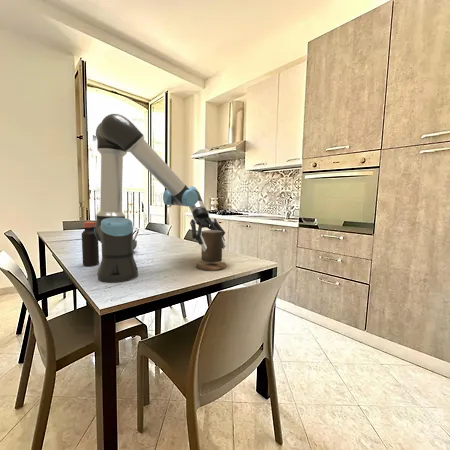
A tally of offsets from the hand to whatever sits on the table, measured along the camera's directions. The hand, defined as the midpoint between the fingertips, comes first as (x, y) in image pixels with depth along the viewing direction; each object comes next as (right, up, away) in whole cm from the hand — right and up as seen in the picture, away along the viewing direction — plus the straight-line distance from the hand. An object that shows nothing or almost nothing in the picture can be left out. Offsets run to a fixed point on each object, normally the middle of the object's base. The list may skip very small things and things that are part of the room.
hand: (215, 248), depth 118 cm
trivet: (-2, -9, +3) cm, 10 cm away
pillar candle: (-2, -6, +3) cm, 7 cm away
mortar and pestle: (-52, -5, +29) cm, 60 cm away
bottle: (-59, -8, +3) cm, 59 cm away
